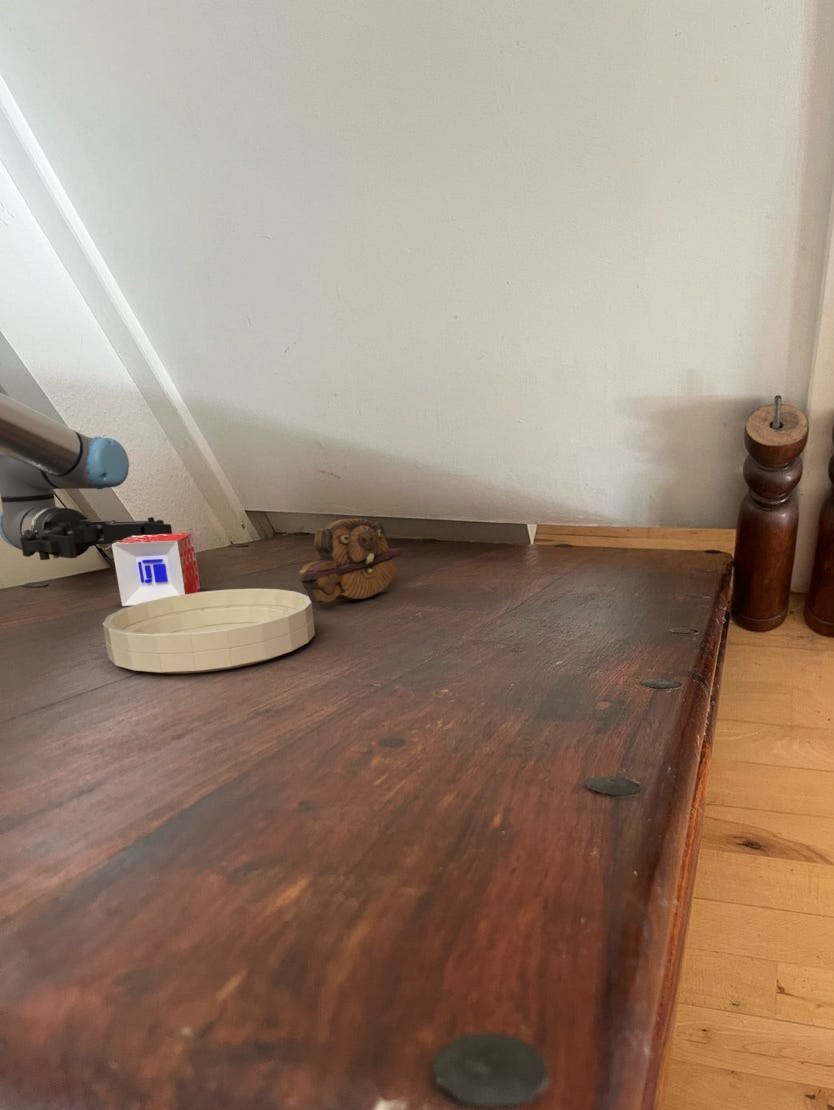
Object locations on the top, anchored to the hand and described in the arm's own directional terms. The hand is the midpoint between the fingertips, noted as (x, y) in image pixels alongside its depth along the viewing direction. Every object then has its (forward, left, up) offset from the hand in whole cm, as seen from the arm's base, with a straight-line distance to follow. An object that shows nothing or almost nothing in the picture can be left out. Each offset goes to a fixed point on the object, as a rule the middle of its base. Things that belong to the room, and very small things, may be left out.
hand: (123, 540), depth 106 cm
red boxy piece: (+7, -6, -7) cm, 11 cm away
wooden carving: (+34, -12, -7) cm, 36 cm away
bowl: (+23, -32, -7) cm, 40 cm away
